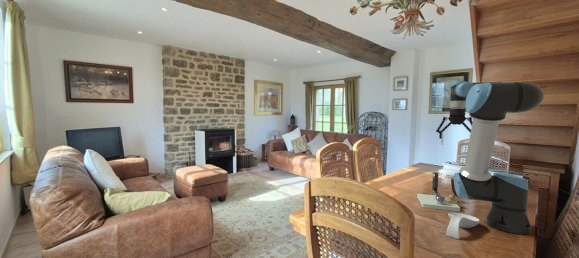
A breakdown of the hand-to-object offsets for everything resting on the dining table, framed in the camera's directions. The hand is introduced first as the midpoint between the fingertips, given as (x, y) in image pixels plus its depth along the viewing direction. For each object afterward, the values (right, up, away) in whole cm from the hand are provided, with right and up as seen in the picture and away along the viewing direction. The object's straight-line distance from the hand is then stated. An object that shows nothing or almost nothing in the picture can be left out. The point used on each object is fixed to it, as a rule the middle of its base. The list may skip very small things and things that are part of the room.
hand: (455, 145), depth 146 cm
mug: (+8, -32, +8) cm, 33 cm away
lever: (-14, -28, -6) cm, 32 cm away
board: (-14, -32, -6) cm, 36 cm away
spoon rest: (-22, -34, -37) cm, 55 cm away
